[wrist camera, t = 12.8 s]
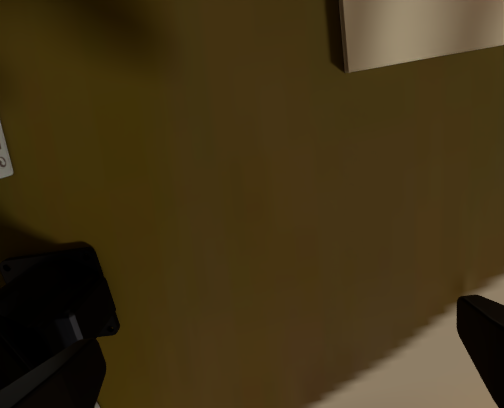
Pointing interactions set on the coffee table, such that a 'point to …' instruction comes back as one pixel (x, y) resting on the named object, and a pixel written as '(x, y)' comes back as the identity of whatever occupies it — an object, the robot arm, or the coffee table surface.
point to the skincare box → (4, 157)
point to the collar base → (416, 29)
